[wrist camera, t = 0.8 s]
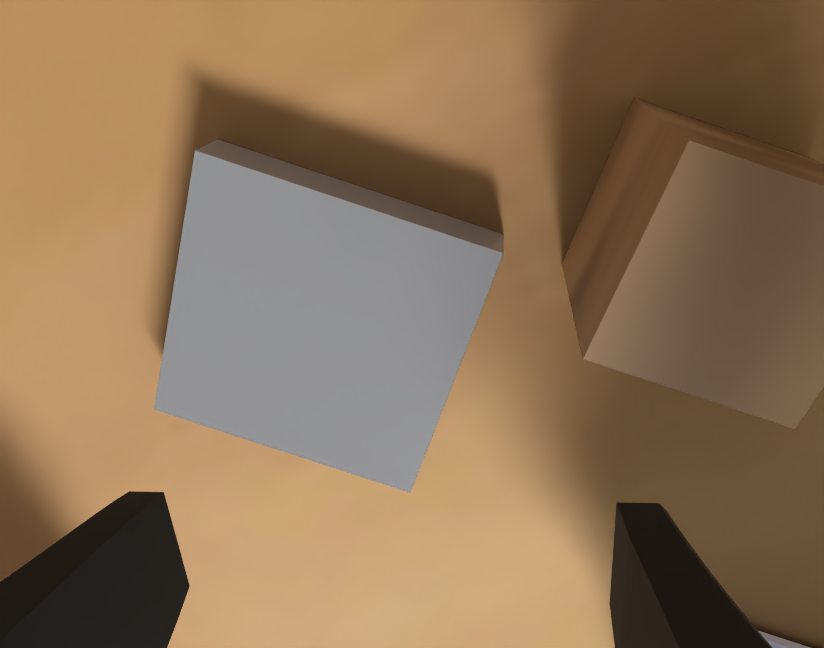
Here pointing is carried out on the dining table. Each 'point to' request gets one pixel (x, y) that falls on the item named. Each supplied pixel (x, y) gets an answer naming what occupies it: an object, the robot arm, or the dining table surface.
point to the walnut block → (704, 265)
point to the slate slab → (319, 313)
